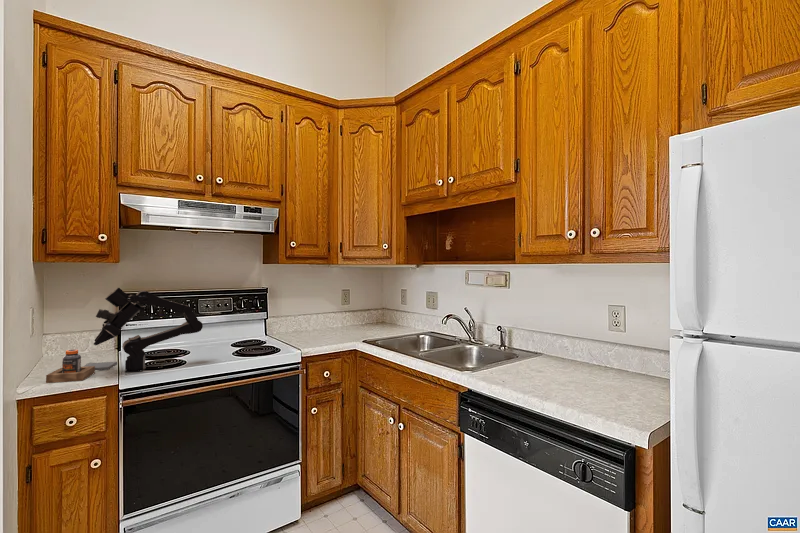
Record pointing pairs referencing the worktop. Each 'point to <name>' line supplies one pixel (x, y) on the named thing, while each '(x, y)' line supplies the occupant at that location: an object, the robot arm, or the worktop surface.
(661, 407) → the worktop surface
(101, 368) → the rubber mat
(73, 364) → the pill bottle
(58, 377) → the bottle holder
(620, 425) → the worktop surface
